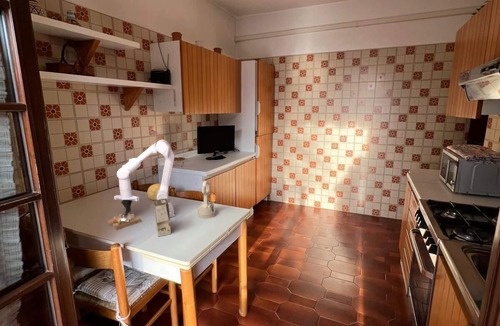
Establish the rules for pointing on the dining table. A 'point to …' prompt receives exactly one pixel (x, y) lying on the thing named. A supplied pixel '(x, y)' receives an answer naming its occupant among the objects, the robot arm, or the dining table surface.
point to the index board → (124, 224)
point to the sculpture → (153, 191)
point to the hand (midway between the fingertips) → (128, 212)
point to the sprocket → (124, 217)
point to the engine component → (206, 203)
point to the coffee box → (162, 217)
